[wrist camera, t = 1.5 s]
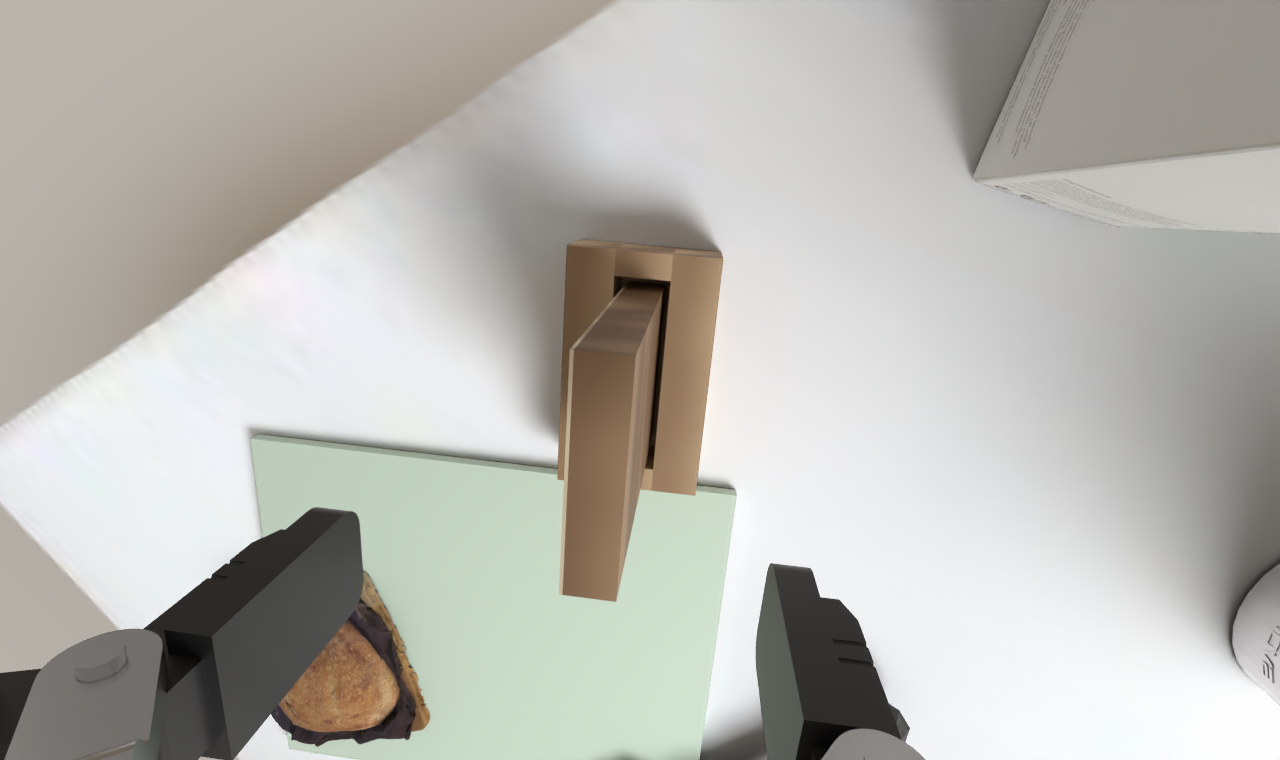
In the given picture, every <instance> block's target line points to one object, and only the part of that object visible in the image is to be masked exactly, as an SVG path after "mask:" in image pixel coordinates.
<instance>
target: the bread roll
mask: <svg viewBox="0 0 1280 760" xmlns="http://www.w3.org/2000/svg"><path fill="white" fill-rule="evenodd" d="M367 574H368V573H367V572H366V573H364V572H363V578H364V581H363V590H362V594H361V597H360V600H359V602H358V605H357V607H356V609H355V610H354V612H353V613H352V615H351V616H350V617H349V618H348V619H347V621H346V622H345V623H344V624H343V626H342V627H341V628H340V629H339V630H338V632H337V633H336V634H335V635H334V637H333V638H332V639H331V640H330V642H329V643H328V644H327V645H326V646H325V648H324V649H323V650H322V651H321V653H320V654H319V655H318V656H317V658H316V659H315V660H314V661H313V662H312V664H311V665H310V666H309V667H308V669H307V670H306V671H305V672H304V673H303V675H302V676H301V677H300V678H299V680H298V681H297V682H296V683H295V685H294V686H293V687H292V688H291V689H290V691H289V692H288V693H287V694H286V696H285V697H284V698H283V699H282V700H281V702H280V703H279V704H278V705H277V707H276V708H275V709H274V710H273V712H272V713H271V715H272V717H273V718H274V719H275V721H276V722H277V723H278V724H279V726H280V727H281V728H282V729H283V730H286V731H287V732H289V733H290V734H291V735H292V736H291V741H292V740H296V741H298V742H300V743H304V744H311V745H312V744H315V746H316V747H319V746H321V745H322V744H324V743H326V742H327V741H334V740H341V739H343V740H345V739H354V740H355V741H356V742H357V743H358V744H364V743H368V742H370V741H373V740H376V739H405V740H409V739H410V736H411V732H414V731H420V730H423V729H424V728H425V727H426V726H427V724H428V723H429V721H430V713H429V711H428V709H427V708H426V703H424V701H425V700H424V698H423V696H421V693H420V692H421V690H420V689H419V686H418V684H417V683H418V680H419V679H418V676H417V674H415V673H413V672H414V670H413V668H409V667H408V666H409V662H408V659H407V658H406V657H407V655H406V654H405V653H404V650H407V649H406V647H405V648H403V649H402V645H404V646H405V644H404V642H403V640H402V639H400V638H399V637H400V635H399V633H398V631H397V628H395V627H394V624H393V623H392V622H393V621H391V616H389V612H388V611H387V609H385V608H384V604H383V603H382V601H381V600H380V598H379V594H378V593H376V591H375V589H376V588H375V587H374V586H373V583H372V580H371V578H370V577H369V576H368V575H367Z"/></svg>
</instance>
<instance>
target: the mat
mask: <svg viewBox="0 0 1280 760" xmlns="http://www.w3.org/2000/svg"><path fill="white" fill-rule="evenodd" d="M250 440H251V448H252V456H253V464H254V472H255V480H256V488H257V496H258V504H259V512H260V520H261V528H262V536H263V537H266V536H268V535H270V534H272V533H274V532H276V531H278V530H280V529H283V530H285V529H287V528H288V527H289V526H290V525H292V524H293V523H294V522H295V521H296V520H298V519H299V518H300V517H301V516H302V515H304V514H305V513H306V512H307V511H308V510H310V509H311V508H314V507H320V508H328V509H337V510H345V511H352V512H355V513H356V514H357V516H358V518H359V522H360V534H361V549H362V563H363V572H364V573H366V572H367V573H368V574H367V575H368V576H369V577H370V578H371V580H372V583H373V586H374V587H375V588H376V589H375V591H376V593H378V594H379V598H380V600H381V601H382V603H383V604H384V608H385V609H387V611H388V612H389V616H391V621H393V622H392V623H393V624H394V627H395V628H397V631H398V633H399V635H400V637H399V638H400V639H402V640H403V642H404V644H405V646H404V645H402V649H403V648H405V647H406V649H407V650H404V653H405V654H406V655H407V657H406V658H407V659H408V662H409V666H408V667H409V668H413V670H414V672H413V673H415V674H417V676H418V679H419V680H418V683H417V684H418V686H419V689H420V690H421V692H420V693H421V696H423V698H424V700H425V701H424V703H426V708H427V709H428V711H429V713H430V721H429V723H428V724H427V726H426V727H425V728H424V729H423V730H420V731H414V732H411V736H410V739H409V740H405V739H376V740H373V741H370V742H368V743H364V744H358V743H357V742H356V741H355V740H354V739H345V740H343V739H341V740H334V741H327V742H326V743H324V744H322V745H321V746H319V747H316V746H315V744H312V745H311V744H304V743H300V742H298V741H296V740H292V741H291V736H292V735H291V734H290V733H289V732H287V737H288V745H289V749H293V750H300V751H306V752H313V753H319V754H326V755H332V756H338V757H345V758H351V759H358V760H700V753H701V745H702V738H703V731H704V724H705V717H706V710H707V703H708V696H709V689H710V681H711V674H712V667H713V660H714V653H715V646H716V639H717V632H718V625H719V617H720V610H721V603H722V596H723V589H724V582H725V575H726V568H727V560H728V553H729V546H730V539H731V532H732V525H733V518H734V511H735V504H736V496H737V495H736V490H733V489H725V488H716V487H708V486H699V485H697V486H696V495H695V496H692V495H683V494H675V493H666V492H658V491H649V490H641V489H640V493H639V498H638V503H637V507H636V512H635V517H634V521H633V526H632V531H631V535H630V540H629V545H628V549H627V554H626V559H625V563H624V568H623V573H622V577H621V582H620V587H619V591H618V596H617V601H616V602H612V601H604V600H597V599H589V598H582V597H574V596H566V595H559V579H560V557H561V535H562V512H563V490H564V480H557V475H558V469H554V468H545V467H536V466H528V465H519V464H511V463H502V462H494V461H485V460H477V459H468V458H459V457H451V456H442V455H434V454H425V453H417V452H408V451H399V450H391V449H382V448H374V447H365V446H357V445H348V444H339V443H331V442H322V441H314V440H305V439H297V438H288V437H279V436H271V435H262V434H258V435H256V436H254V437H253V438H251V439H250Z"/></svg>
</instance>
